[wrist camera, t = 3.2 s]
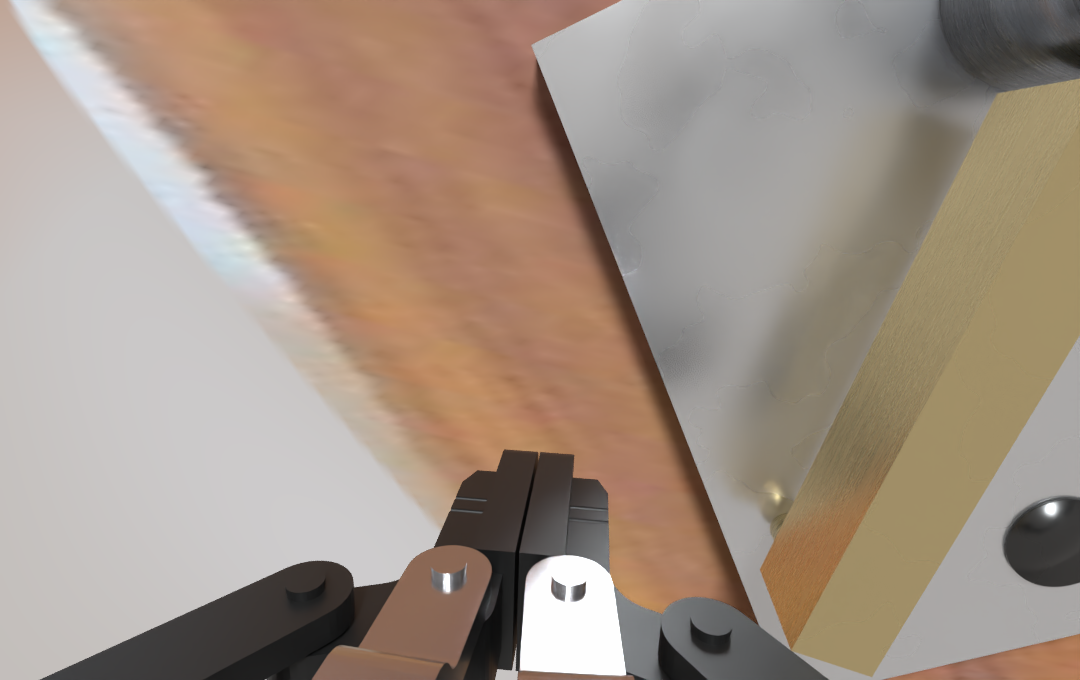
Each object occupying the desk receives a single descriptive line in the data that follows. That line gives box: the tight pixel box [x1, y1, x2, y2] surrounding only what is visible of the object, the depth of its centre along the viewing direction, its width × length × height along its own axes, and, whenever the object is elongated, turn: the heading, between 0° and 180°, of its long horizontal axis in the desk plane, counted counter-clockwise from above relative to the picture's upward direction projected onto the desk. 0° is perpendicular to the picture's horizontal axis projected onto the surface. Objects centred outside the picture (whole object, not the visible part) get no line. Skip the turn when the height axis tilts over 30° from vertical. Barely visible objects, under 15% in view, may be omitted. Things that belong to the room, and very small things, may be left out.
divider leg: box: [760, 79, 1080, 677], centre depth 12 cm, size 10×2×4 cm, turn 163°
